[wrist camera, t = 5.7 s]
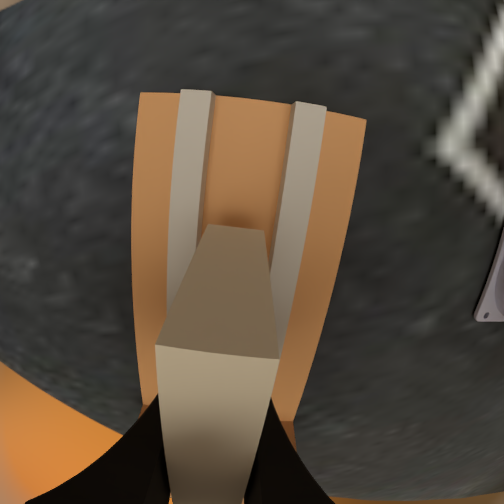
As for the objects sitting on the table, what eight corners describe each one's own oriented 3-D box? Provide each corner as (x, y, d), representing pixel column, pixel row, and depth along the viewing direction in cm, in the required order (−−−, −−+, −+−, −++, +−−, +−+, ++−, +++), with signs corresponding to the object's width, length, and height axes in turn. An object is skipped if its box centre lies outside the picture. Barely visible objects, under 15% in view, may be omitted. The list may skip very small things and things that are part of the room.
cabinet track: (359, 120, 14) (437, 116, 7) (286, 424, 21) (295, 506, 14) (147, 94, 13) (71, 72, 7) (148, 408, 20) (124, 487, 14)
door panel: (264, 230, 11) (279, 359, 5) (235, 417, 15) (230, 539, 8) (208, 224, 11) (154, 344, 5) (197, 413, 15) (178, 533, 8)
